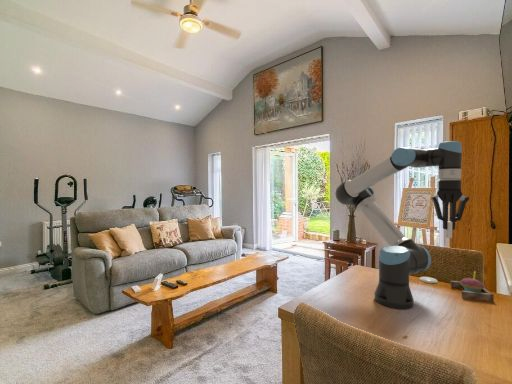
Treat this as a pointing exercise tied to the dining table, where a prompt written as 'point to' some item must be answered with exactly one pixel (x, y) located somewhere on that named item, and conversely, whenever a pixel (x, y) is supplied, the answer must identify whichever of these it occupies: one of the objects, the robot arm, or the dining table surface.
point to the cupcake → (472, 284)
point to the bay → (474, 293)
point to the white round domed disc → (428, 280)
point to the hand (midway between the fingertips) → (448, 237)
